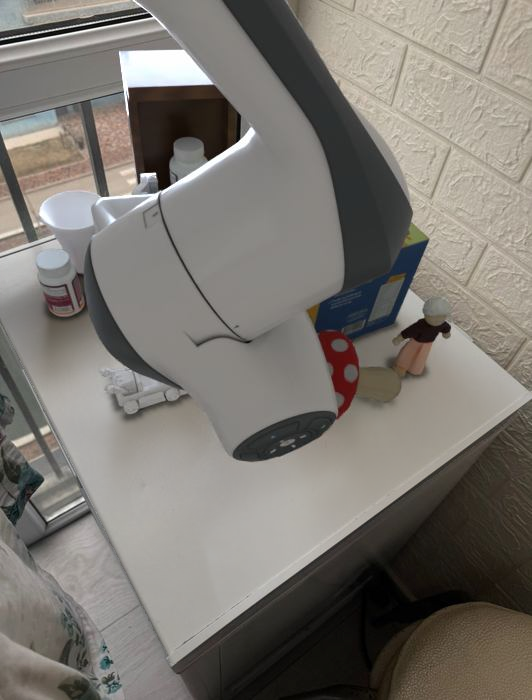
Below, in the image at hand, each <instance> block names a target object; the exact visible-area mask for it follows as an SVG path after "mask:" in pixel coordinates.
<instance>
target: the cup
mask: <svg viewBox="0 0 532 700" xmlns="http://www.w3.org/2000/svg"><path fill="white" fill-rule="evenodd" d="M100 198H103V197H102V196H101V195H99V194H97V193H94V192H92V191H88V190H74V189H73V190H66V191H62V192H59V193H55V194H53V195H51V196H50V197H48V198H47V199H46V200H44V201H43V202H42V203H41V205H40V206H39V210H38V214H37V215H36V216H35V217H36V220H37V221H38V222H40V223H42V224H43V225H44V226H45V227H46V228H47V229H48V230H49V231H50V232H51V233H52V234H53V236H54V237H55V239H56V240H57V242H58V243H59V245H60V246H61V249H62V250H64V251H66V252H67V253H68V255H69V258H70V261H71V263H72V264H73V265H74V267H75V269H76V272H77V274H80V275H84V260H85V255H86V250H87V247H88V244H89V242H90V239H91V237H92V236H93V235H95V234H96V233H95V228H94V223H93V218H92V212H91V206H92V205H93V204H94V203H95V202H96V201H97V200H99V199H100Z"/></svg>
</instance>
